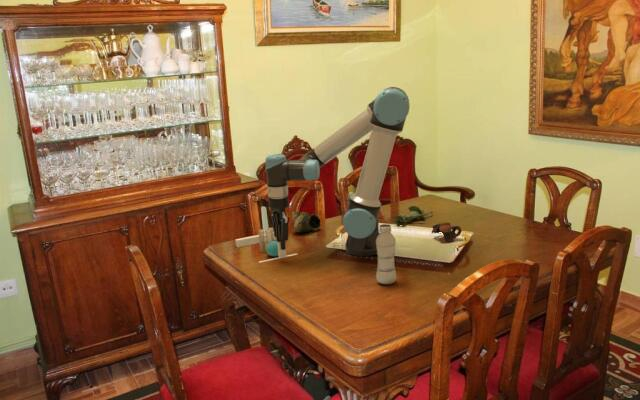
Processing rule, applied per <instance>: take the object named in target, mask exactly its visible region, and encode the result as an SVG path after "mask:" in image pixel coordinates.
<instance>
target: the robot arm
mask: <svg viewBox="0 0 640 400" xmlns="http://www.w3.org/2000/svg"><path fill="white" fill-rule="evenodd" d="M409 112H410V99H409V96H408V95H407V93H406V92H405V91H404V90H403V89H401V88H399V87H396V86H390V87H387V88H384V89H383V90H382V91H380V92H379V93H378V94H377V96H376V98H375V99H373V100H372V101H371V102H370V103H368V104H367V106H366V109H364V111H362V112H361V113H360V114H358V115H357V116H355V117H354V118H352V120H349V122H347V123H345V125H343V126H342V127H340V128H339V129H337V130H336V131H335V132H334V133H332V134H331V135H330V136H328V137H327V138H326V139H324V140H322V141H321V142H320V143H319V144H317V145H316V146H314V148H312V149H311V150H309V151H308V152H306V153H304V154H303V155H302V156H301V157H300V158H299V159H292V160H290V159H287V157H286V155H285V154H280V153H279V154H278V153H277V154H270V155H267V156H266V157H265V174H266V175H265V176H266V186H267V187H266V188H267V189H266V190H265V191H266V192H267V197H268V198H267V202H268V208H270V209H272V211H270V212H269V214H270V218H271V222H272V223H271V224H272V228H273V232H274V236H275V237H276V239H277V240H276V241H277V243H278V256H277V257H279V258H280V259H284V258H283V257H285V258H288V257H287V245H286V242H287V241H289V224H290V217H287V212H286V208H288V207H290V202H289V196H288V195H289V187H288V182H289V181H290V182H291V181H292V182H293V181H296V182H297V181H298V182H299V181H300V182H301V181H304V182H305V181H307V182H311V181H317V180H318V179H319V178H320V172H321V171H320V169H321V168H322V167H323V166H325V165H326V164H328V163H329V162H330V161H332V160H333V159H334V158H337V156H339V155H340V154H341V153H342V152H344V151H346V150H347V149H349V147H351V146H353V145H354V144H355V143H357V142H358V141H359V140H361V139H362V138H364V137H365V136H367V135H368V134H369V133H370V134H371V135H370V138H369V142H368V144H367V149H366V153H365V156H364V159H363V163H362V167H361V171H360V175H359V178H358V181H357V186H356V189H355V192H354V193H349V194H348V195H347V207H346V210H345V214H344V215H343V217H342V225H343V229H344V231H345V233H346V234H347V238H346V242H345V249H346V250H345V252H346V253H347V254H349V255H352V256H357V257H369V256H376V255H377V254H376V253H377V247H376V238H377V237H378V235H379V234H380V231H379V226H380V225H379V224H380V223H379V222H380V221H379V213H380V210H381V207H382V203H381V202H380V199H379V198H380V196H381V191H382V187H383V184H384V180H385V177H386V173H387V170H388V167H389V164H390V160H391V155H392V152H393V148H394V145H395V141H396V138H397V135H399V134H400V133H402V132H403V129H404V126H405V123H406V119H407V116H408V115H409Z"/></svg>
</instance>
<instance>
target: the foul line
mask: <svg viewBox="0 0 640 400" xmlns="http://www.w3.org/2000/svg"><path fill="white" fill-rule="evenodd" d="M286 256H287V257H283V258H282V259H285V258H288V257H293V256H298V253H297V252H296V253H292V254H286ZM279 259H280V260H281V258H279V257H278V256H276V257H274V258H269V259H265V260H260V261H258V263H259V264H262V263H266V262H270V261H274V260H279Z"/></svg>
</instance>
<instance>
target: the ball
mask: <svg viewBox="0 0 640 400" xmlns="http://www.w3.org/2000/svg"><path fill="white" fill-rule="evenodd" d="M265 251H266V253H267V254H268V255H269V256H270V257H278V243H277V240H274V241H271V242H270V243H268V244H266V246H265Z"/></svg>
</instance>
